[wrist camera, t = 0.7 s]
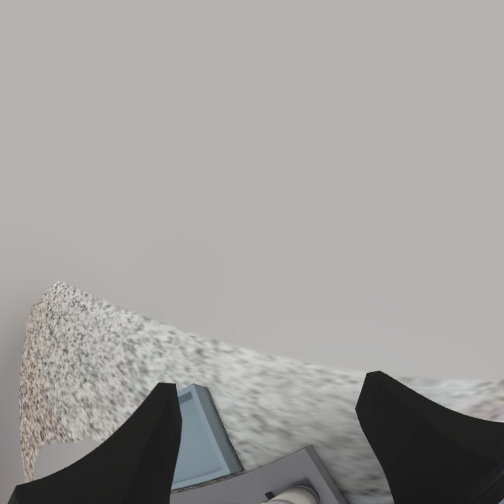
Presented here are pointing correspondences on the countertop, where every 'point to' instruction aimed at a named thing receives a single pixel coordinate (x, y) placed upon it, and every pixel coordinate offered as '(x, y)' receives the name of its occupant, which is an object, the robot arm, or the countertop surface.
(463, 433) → the robot arm
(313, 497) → the fuse
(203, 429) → the tray
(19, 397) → the countertop surface
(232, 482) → the fuse holder
